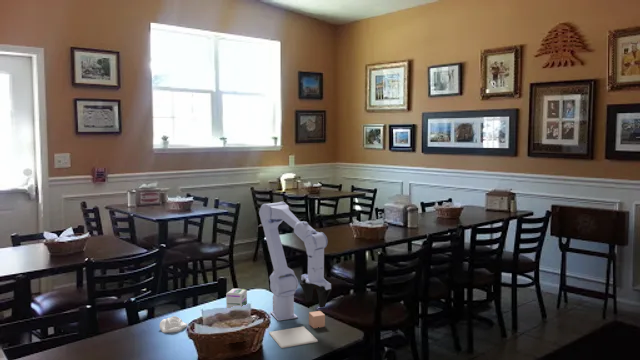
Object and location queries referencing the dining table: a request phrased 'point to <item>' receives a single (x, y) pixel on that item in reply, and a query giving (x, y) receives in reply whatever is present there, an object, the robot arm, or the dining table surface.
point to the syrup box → (236, 297)
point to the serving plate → (293, 337)
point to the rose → (172, 325)
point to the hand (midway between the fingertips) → (315, 304)
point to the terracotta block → (316, 319)
